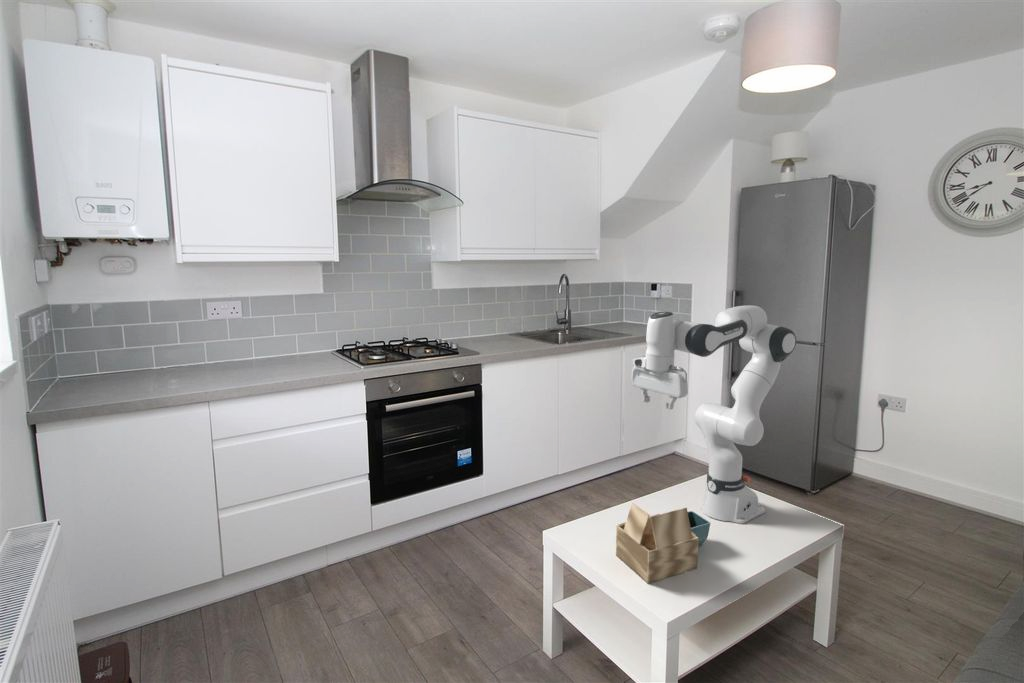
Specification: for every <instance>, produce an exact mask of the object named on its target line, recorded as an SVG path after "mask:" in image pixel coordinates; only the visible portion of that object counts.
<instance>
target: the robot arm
mask: <svg viewBox="0 0 1024 683" xmlns="http://www.w3.org/2000/svg"><path fill="white" fill-rule="evenodd" d="M645 334H646V336H645V337H646V338H645V341H646V346H647V347H646V350H645V356H642V357H638V358H633V359H632V365H633V367H632V369H631V384H632V387H635V388H640V390H639V391H640V394H641V395H642V402H644V403H647V404H648V403H650V402H651V396H649V395H648V391H651V392H654V393H659V394H662V395H666V396H668V398H669V402H666V403H665V407H666V409H668V410H673V409H674V406H675V402H676V401H677V399H682V398H686V397H687V395H688V394H689V386H688V373H687V372H686V370H685V369H684V368H683V367H681V366H680V367H678V366H676V365H675V350H676V351H680V352H684V353H688V354H692V355H696V356H698V357H702V358H706V357H709V356H711V355H712V354H713V353H715V352H716V351H717V350H718V349H720V348H722V347H724V346H727V345H730V344H731V343H733V346H735V347H736V349H739V350H741V351H744V352H749V353H752V354H751V355H752V356H751V359H750V360H749V362H748V363H747V364H746V365H745V367H743V369H742V370H741V372H740V374H739V375H738V377H737V378H736V380H735V381H734V382H733V384H732V386H731V389H730V392H731V397H732V398H733V399H734V400H735V401H734V405H733V406H732V407H731V408H730V407H727V406H725V405H721V404H718V403H708V402H707V403H706V402H705V403H702V404H701V405H699V406H698V408H697V409H696V411H695V412H694V413H695V414H694V420H695V421H694V422H695V424H696V426H697V427H698V428H699V429H700V431H701V433H702V435H703V438H704V439H705V443H706V446H707V451H708V472H707V475H706V487H705V494H704V498H703V499H702V507H701V510H702V512H703V513H704V515H706V516H708V517H710V518H712V519H715V520H719V521H723V522H732V523H737V524H741V525H742V524H745V523H748V522H749V521H751V520H753V519H755V518H757V517H759V516H761V515H762V514H765V513H766V509H765V507H764V506H763V505H762V504H760V503H759V496H758V494H756V492H754V491H753V490H752V489H751V488H749V486H747V485H746V484H745V482H746V483H747V484H749V483H750V482H751V480H752V479H751V477H749V476H747V475H744V476H743V474H742V473H743V455H742V453H741V451H739V449H738V448H737V446H736V445H735V444H737V445H741V446H742V445H743V446H748V447H750V446H751V447H752V446H753V447H754V446H756V445H757V444H758V443H759V442H760V441H762V439H763V437H764V431H765V430H764V424H763V422H762V420H761V419H760V409H761V406H762V404H763V402H764V400H765V398H766V397H767V395H768V394H769V392H770V390H771V388H772V386H774V383H775V381H776V379H777V377H778V375H779V372H780V369H781V367H782V366H781V362H783V361H785V360H786V359H787V358H788V357H789V356H790V355H791V354H792V352H793V351H794V350H795V348H796V347H797V346H796V345H797V337H796V335H795V332H794V331H793V330H792V329H790V328H788V327H785V326H778V325H775V324H771V323H770V324H769V323H768V315H767V313H766V311H765V309H763V308H762V307H760V306H758V305H748V304H747V305H738V306H734V307H729V308H726V309H723V310H722V311H720V312H719V313H718V314H717V316H716V318H715V321H714V325H713V324H707V323H697V322H691V321H685V320H683V319H680V318H679V317H677V316H676V315H675V314H674V313H673V312H672V311H657V312H653V313H652V314H651V315H650V316H649V317H648V320H647V326H646V333H645Z"/></svg>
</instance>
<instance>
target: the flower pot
mask: <svg viewBox="0 0 1024 683" xmlns="http://www.w3.org/2000/svg"><path fill="white" fill-rule="evenodd" d="M687 512H688V517H689V522H690V527H691V532H693V533H694V534H696V536H697V537H698V548H700V547H702V546H703V545H704V544H705V543H706V541H707V539H708V536H709V533H710V527H711V522H710V521H709V520H707V519H706V518H704V517H703V516H701V515H699V514H698V513H696V512H695V511H693V510H690V511H687Z"/></svg>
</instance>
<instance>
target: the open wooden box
mask: <svg viewBox="0 0 1024 683" xmlns="http://www.w3.org/2000/svg"><path fill="white" fill-rule="evenodd" d="M659 514H660V513H656V514H653V515H650V516H649V519H648V522H647V525H646V528H645V531H644V534H643V538H642V541H641V544H639V543H637V542H636V541H635V540H634V539H632V538H631V537H630V536H629V535H627V534H626V533H625V532H624V531H623V530H624V527H625V524H626V521H624V522H622V523H618V524H617V525H616V533H615V534H616V537H615V538H616V539H615V540H616V541H615V543H616V544H615V556H616V557H617V558H618V559H619V560H620V561H621V562H623V563H624V564H625V565H626V566H627V567H628V568H629V569H630V570H632V571H633V572H634V573H635V574H636V575H637V576H639V577H640V578H641V579H642V581H644V582H645V583H646V584H647V585H649V584H653V583H656V582H658V581H659V582H660V581H662V580H665V579H668V578H672V577H675V576H678V575H680V574H684V573H687V572H690V571H693V570H696V569H697V568H698V557H699V556H698V554H699V547H698V537H697V536H696V534H694V533H693V532H692V537H693V539H691V540H687V541H684V542H681V543H677V544H674V545H670V546H667V547H663V548H660V549H656V545H655V540H654V534H653V529H652V524H651V518H650V517H651V516H655V515H659Z"/></svg>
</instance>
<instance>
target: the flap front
mask: <svg viewBox="0 0 1024 683" xmlns="http://www.w3.org/2000/svg"><path fill="white" fill-rule="evenodd" d="M649 516H651V515H650V513H648V512H646V511H645V510H644V509H642V508H641V507H640V506H638V505H636V504H635V503H633V502H631V506H630V509H629V512H628V515H627V517H626V521H625V522H626V524H625V527H624V530H623V531H624V532H625V533H626V534H627V535H629V536H630V537H631V538H632V539H634V540H635V541H636V542H637V543H639V544H641V541H642V538H643V534H644V531H645V528H646V525H647V522H648V519H649Z"/></svg>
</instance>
